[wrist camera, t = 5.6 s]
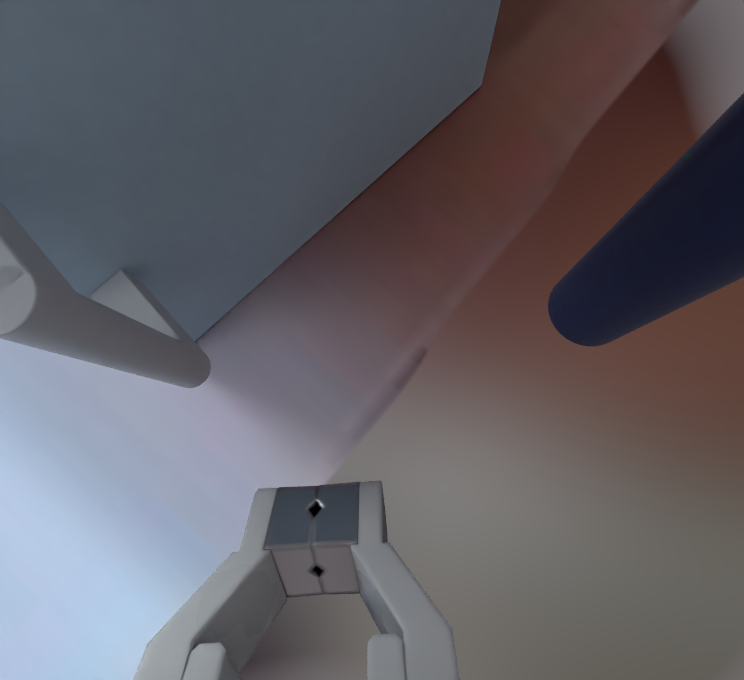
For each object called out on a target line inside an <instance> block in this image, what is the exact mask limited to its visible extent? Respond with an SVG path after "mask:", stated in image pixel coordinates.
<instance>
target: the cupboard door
mask: <svg viewBox="0 0 744 680" xmlns="http://www.w3.org/2000/svg"><path fill="white" fill-rule="evenodd" d="M500 4H501V0H0V338H1V339H5V340H9V341H12V342H16V343H20V344H24V345H27V346H31V347H35V348H39V349H42V350H46V351H50V352H54V353H57V354H61V355H65V356H69V357H72V358H76V359H80V360H84V361H87V362H91V363H95V364H99V365H102V366H106V367H110V368H114V369H117V370H121V371H125V372H129V373H132V374H136V375H140V376H144V377H147V378H151V379H155V380H159V381H162V382H166V383H170V384H174V385H177V386H181V387H185V388H194V387H197V386H199V385H201V384H202V383H203V382H204V381H205V380H206V379H207V378H208V376H209V373H210V369H211V365H210V360H209V358H208V357H207V355H206V354H205V353H204V352H203V351H202V350H201V349H200V347H199V346H198V345H197V344H196V343H195V341H196V340H197V339H198V338H199V337H200V336H202V335H203V334H204V333H205V332H206V331H207V330H208V329H209V328H210V327H212V326H213V325H214V324H215V323H216V322H217V321H218V320H219V319H221V318H222V317H223V316H224V315H225V314H226V313H227V312H228V311H230V310H231V309H232V308H233V307H234V306H235V305H236V304H237V303H238V302H240V301H241V300H242V299H243V298H244V297H245V296H246V295H247V294H249V293H250V292H251V291H252V290H253V289H254V288H255V287H256V286H258V285H259V284H260V283H261V282H262V281H263V280H264V279H265V278H266V277H268V276H269V275H270V274H271V273H272V272H273V271H274V270H275V269H277V268H278V267H279V266H280V265H281V264H282V263H283V262H284V261H286V260H287V259H288V258H289V257H290V256H291V255H292V254H293V253H294V252H296V251H297V250H298V249H299V248H300V247H301V246H302V245H303V244H305V243H306V242H307V241H308V240H309V239H310V238H311V237H312V236H313V235H315V234H316V233H317V232H318V231H319V230H320V229H321V228H322V227H324V226H325V225H326V224H327V223H328V222H329V221H330V220H331V219H333V218H334V217H335V216H336V215H337V214H338V213H339V212H340V211H341V210H343V209H344V208H345V207H346V206H347V205H348V204H349V203H350V202H352V201H353V200H354V199H355V198H356V197H357V196H358V195H359V194H361V193H362V192H363V191H364V190H365V189H366V188H367V187H368V186H369V185H371V184H372V183H373V182H374V181H375V180H376V179H377V178H378V177H380V176H381V175H382V174H383V173H384V172H385V171H386V170H387V169H388V168H390V167H391V166H392V165H393V164H394V163H395V162H396V161H397V160H399V159H400V158H401V157H402V156H403V155H404V154H405V153H406V152H408V151H409V150H410V149H411V148H412V147H413V146H414V145H415V144H416V143H418V142H419V141H420V140H421V139H422V138H423V137H424V136H425V135H427V134H428V133H429V132H430V131H431V130H432V129H433V128H434V127H436V126H437V125H438V124H439V123H440V122H441V121H442V120H443V119H444V118H446V117H447V116H448V115H449V114H450V113H451V112H452V111H453V110H455V109H456V108H457V107H458V106H459V105H460V104H461V103H462V102H464V101H465V100H466V99H467V98H468V97H469V96H470V95H471V94H472V93H474V92H475V91H476V90H477V89H478V88H479V87H480V86H481V85H482V82H483V78H484V73H485V69H486V64H487V60H488V56H489V51H490V47H491V43H492V38H493V34H494V30H495V25H496V21H497V17H498V12H499V8H500Z"/></svg>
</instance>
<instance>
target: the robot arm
mask: <svg viewBox="0 0 744 680" xmlns="http://www.w3.org/2000/svg"><path fill="white" fill-rule="evenodd" d="M353 593H354V594H355V593H360V595H361V597H362V599H363V601H364V603H365V605H366V606H367V608H368V610H369V612H370V614H371V616H372V618H373V619H374V621H375V623H376V625H377V627H378V628H379V630H380V632H381V634H375V635H373V636H372V638H371V639H370V640H369V641H368V660H367V680H460V678H459V672H458V665H457V658H456V651H455V645H454V638H453V631H452V628H451V627H450V625H449V624H448V622H447V621H446V620H445V618H444V617H443V616H442V614H441V613H440V611H439V610H438V609H437V607H436V606H435V605H434V603H433V602H432V601H431V599H430V598H429V596H428V595H427V594H426V592H425V591H424V590H423V588H422V587H421V585H420V584H419V583H418V581H417V580H416V578H415V577H414V576H413V575H412V573H411V572H410V571H409V569H408V568H407V566H406V565H405V563H404V562H403V561H402V559H401V558H400V557H399V555H398V554H397V553H396V551H395V550H394V548H393V547H392V546H391V545H390V543H388V542H387V526H386V515H385V506H384V497H383V488H382V482H381V481H369V482H351V483H339V484H326V485H319V486H302V487H279V488H262V489H258V490H257V492H256V493H255V495H254V498H253V502H252V506H251V509H250V513H249V517H248V520H247V524H246V528H245V531H244V535H243V539H242V542H241V546H240V550H239V552H233V553H232V554H231V555H230V556H229V557H228V558H227V559H226V560H225V561H224V562H223V563H222V564H221V565H220V566H219V568H218V569H217V570H216V571H215V572H214V573H213V574H212V575H211V576H210V577H209V578H208V579H207V580H206V582H205V583H204V584H203V585H202V586H201V587H200V588H199V589H198V590H197V591H196V592H195V593H194V594H193V595H192V597H191V598H190V599H189V600H188V601H187V602H186V603H185V604H184V605H183V606H182V607H181V608H180V609H179V611H178V612H177V613H176V614H175V615H174V616H173V617H172V618H171V619H170V620H169V621H168V622H167V623H166V624H165V626H164V627H163V628H162V629H161V630H160V631H159V632H158V633H157V634H156V635H155V636H154V637H153V638H152V640H151V641H150V642H149V643H148V644H147V646H146V649H145V651H144V654H143V656H142V659H141V662H140V664H139V667H138V669H137V672H136V674H135V677H134V680H242V679H241V677H240V675H239V674H240V673H241V671H242V670H243V668H244V666H245V665H246V663H247V662H248V660H249V659H250V657H251V656H252V654H253V653H254V651H255V649H256V648H257V646H258V645H259V643H260V642H261V640H262V639H263V637H264V635H265V634H266V632H267V631H268V629H269V628H270V626H271V625H272V623H273V622H274V620H275V619H276V617H277V615H278V614H279V612H280V611H281V609H282V608H283V606H284V605H285V603H286V601H287V598H288V597H299V596H311V595H323V594H353Z"/></svg>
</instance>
